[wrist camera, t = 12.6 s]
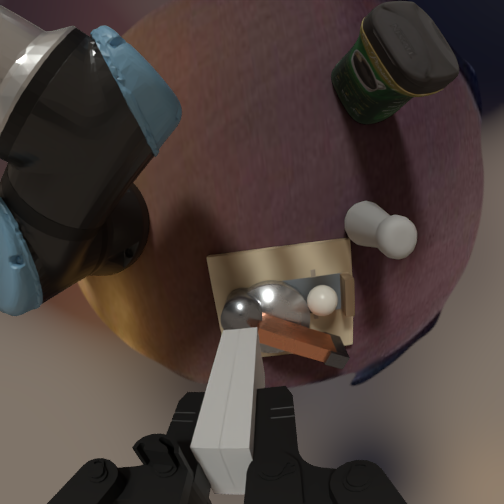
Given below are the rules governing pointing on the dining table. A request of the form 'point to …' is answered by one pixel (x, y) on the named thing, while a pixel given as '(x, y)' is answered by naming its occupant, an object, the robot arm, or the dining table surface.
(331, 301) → the ball
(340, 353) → the grey round-based piece
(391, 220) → the salt shaker
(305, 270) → the stand
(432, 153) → the dining table surface
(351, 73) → the coffee jar
